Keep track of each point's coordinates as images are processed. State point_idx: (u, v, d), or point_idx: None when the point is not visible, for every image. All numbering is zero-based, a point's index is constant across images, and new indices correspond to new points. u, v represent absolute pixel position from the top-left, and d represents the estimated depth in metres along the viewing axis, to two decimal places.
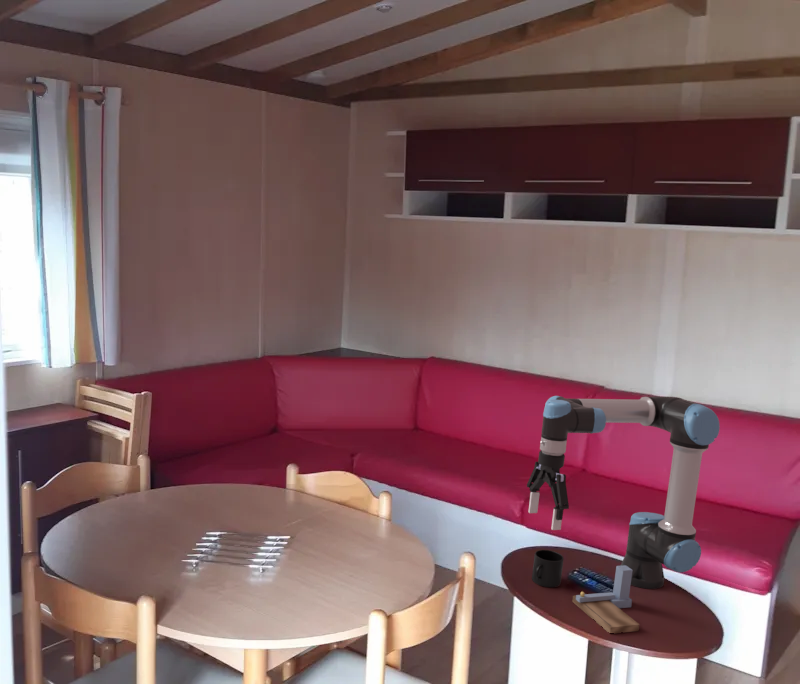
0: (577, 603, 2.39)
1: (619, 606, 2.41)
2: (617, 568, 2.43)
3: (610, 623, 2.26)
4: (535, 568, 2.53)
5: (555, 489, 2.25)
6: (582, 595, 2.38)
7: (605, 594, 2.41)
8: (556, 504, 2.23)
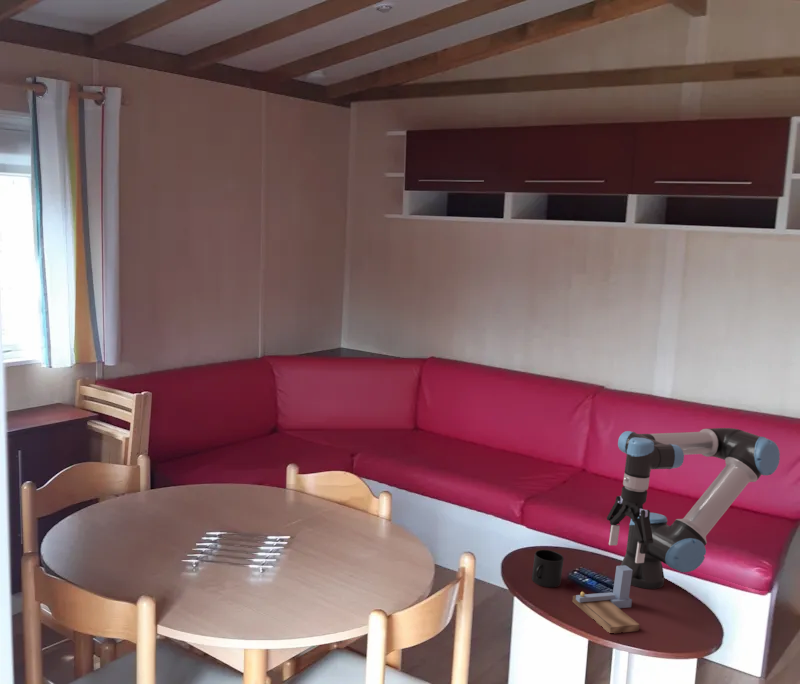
0: (577, 603, 2.39)
1: (619, 606, 2.41)
2: (617, 568, 2.43)
3: (610, 623, 2.26)
4: (535, 568, 2.53)
5: (639, 524, 2.35)
6: (582, 595, 2.38)
7: (605, 594, 2.41)
8: (640, 538, 2.33)
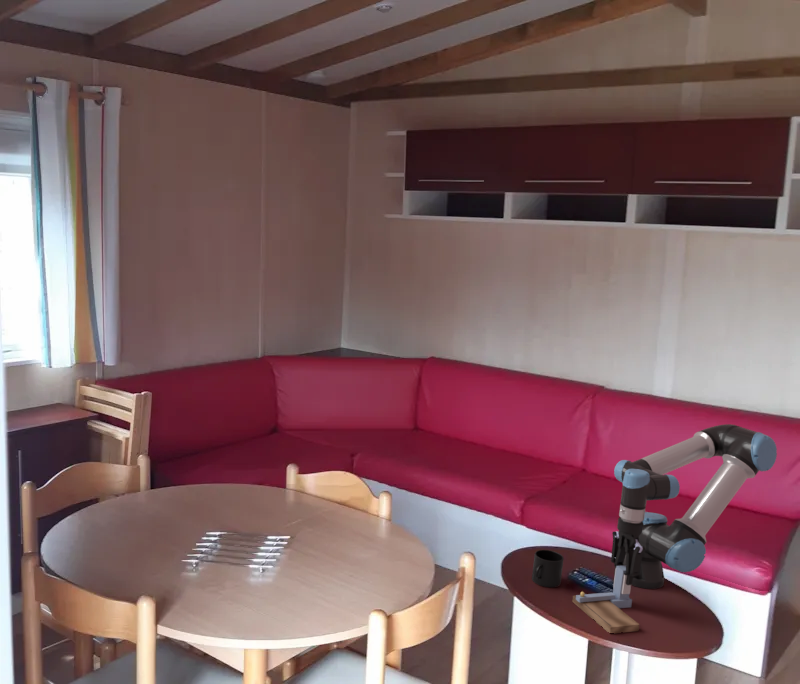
0: (577, 603, 2.39)
1: (619, 606, 2.41)
2: (617, 568, 2.43)
3: (610, 623, 2.26)
4: (535, 568, 2.53)
5: (630, 556, 2.39)
6: (582, 595, 2.38)
7: (605, 594, 2.41)
8: (627, 570, 2.39)
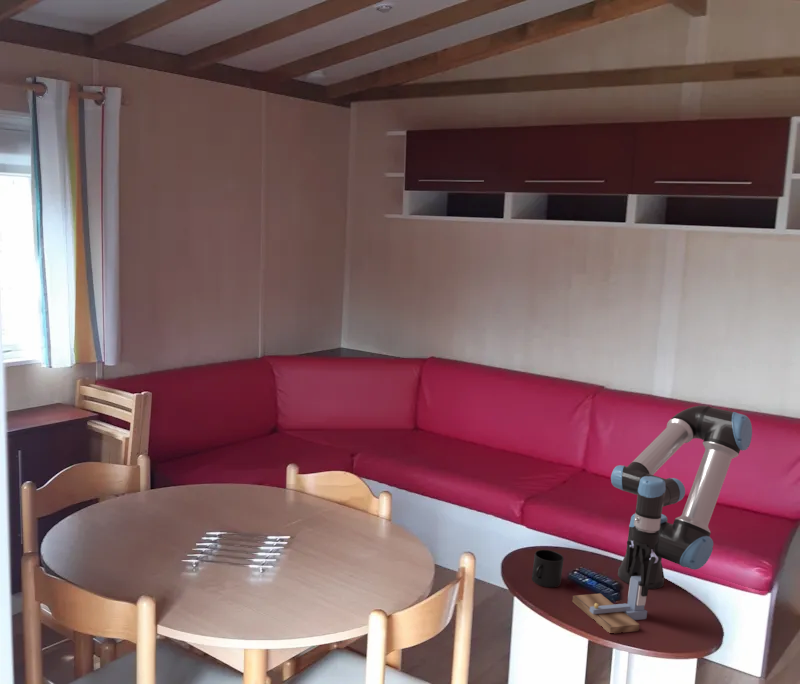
0: (577, 603, 2.39)
1: (634, 618, 2.34)
2: (632, 579, 2.36)
3: (610, 623, 2.26)
4: (535, 568, 2.53)
5: (645, 567, 2.32)
6: (596, 607, 2.31)
7: (619, 605, 2.34)
8: (642, 581, 2.32)
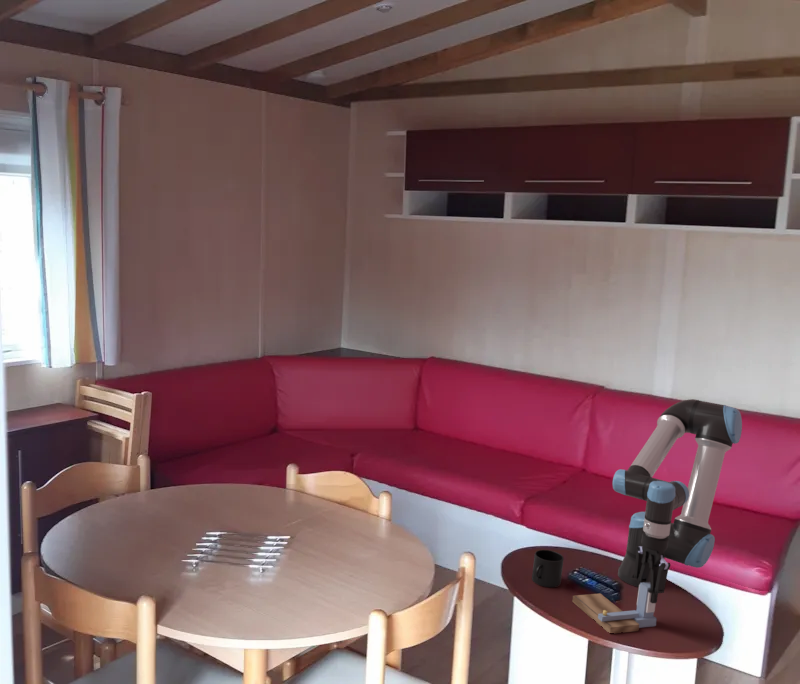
0: (577, 603, 2.39)
1: (643, 625, 2.30)
2: (641, 585, 2.32)
3: (610, 623, 2.26)
4: (535, 568, 2.53)
5: (655, 573, 2.28)
6: (605, 614, 2.27)
7: (628, 612, 2.30)
8: (652, 588, 2.28)
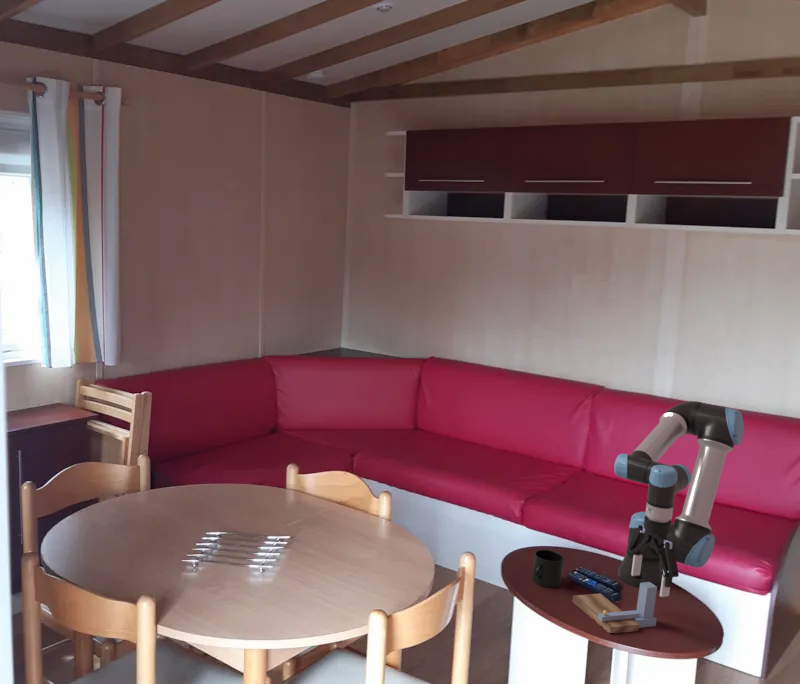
0: (577, 603, 2.39)
1: (643, 625, 2.30)
2: (641, 585, 2.32)
3: (610, 623, 2.26)
4: (535, 568, 2.53)
5: (663, 556, 2.25)
6: (605, 614, 2.27)
7: (628, 612, 2.30)
8: (665, 572, 2.23)
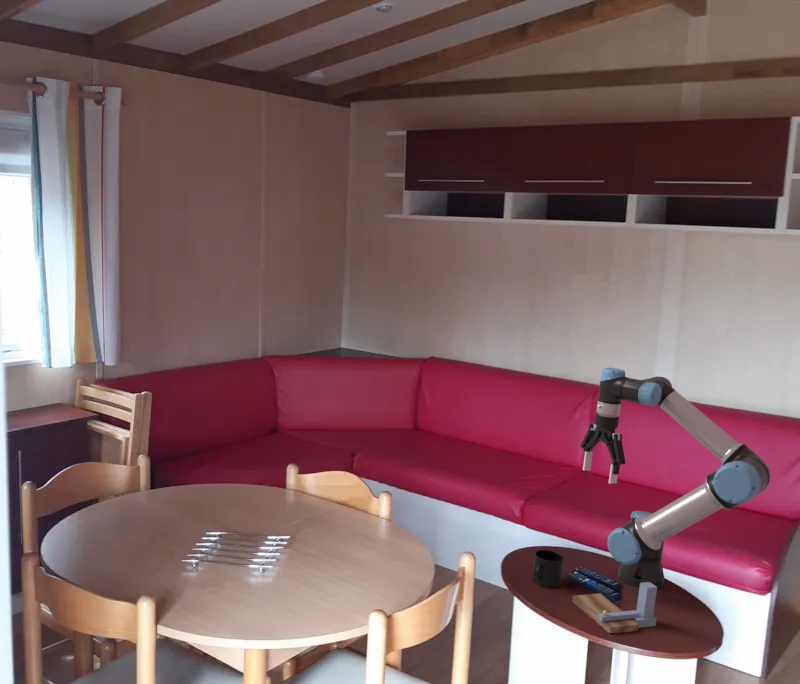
0: (577, 603, 2.39)
1: (643, 625, 2.30)
2: (641, 585, 2.32)
3: (610, 623, 2.26)
4: (535, 568, 2.53)
5: (612, 447, 2.52)
6: (605, 614, 2.27)
7: (628, 612, 2.30)
8: (613, 460, 2.50)
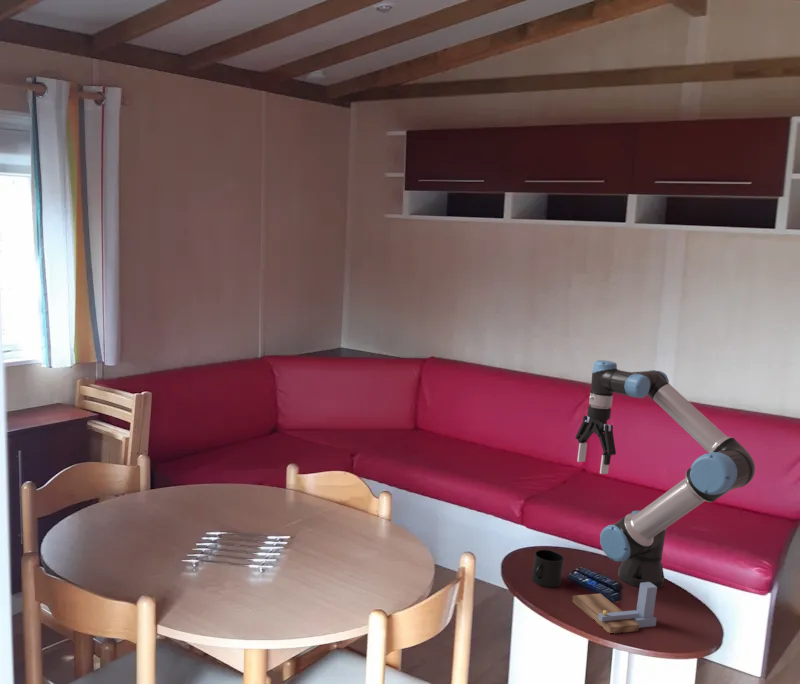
0: (577, 603, 2.39)
1: (643, 625, 2.30)
2: (641, 585, 2.32)
3: (610, 623, 2.26)
4: (535, 568, 2.53)
5: (603, 438, 2.56)
6: (605, 614, 2.27)
7: (628, 612, 2.30)
8: (604, 451, 2.54)
